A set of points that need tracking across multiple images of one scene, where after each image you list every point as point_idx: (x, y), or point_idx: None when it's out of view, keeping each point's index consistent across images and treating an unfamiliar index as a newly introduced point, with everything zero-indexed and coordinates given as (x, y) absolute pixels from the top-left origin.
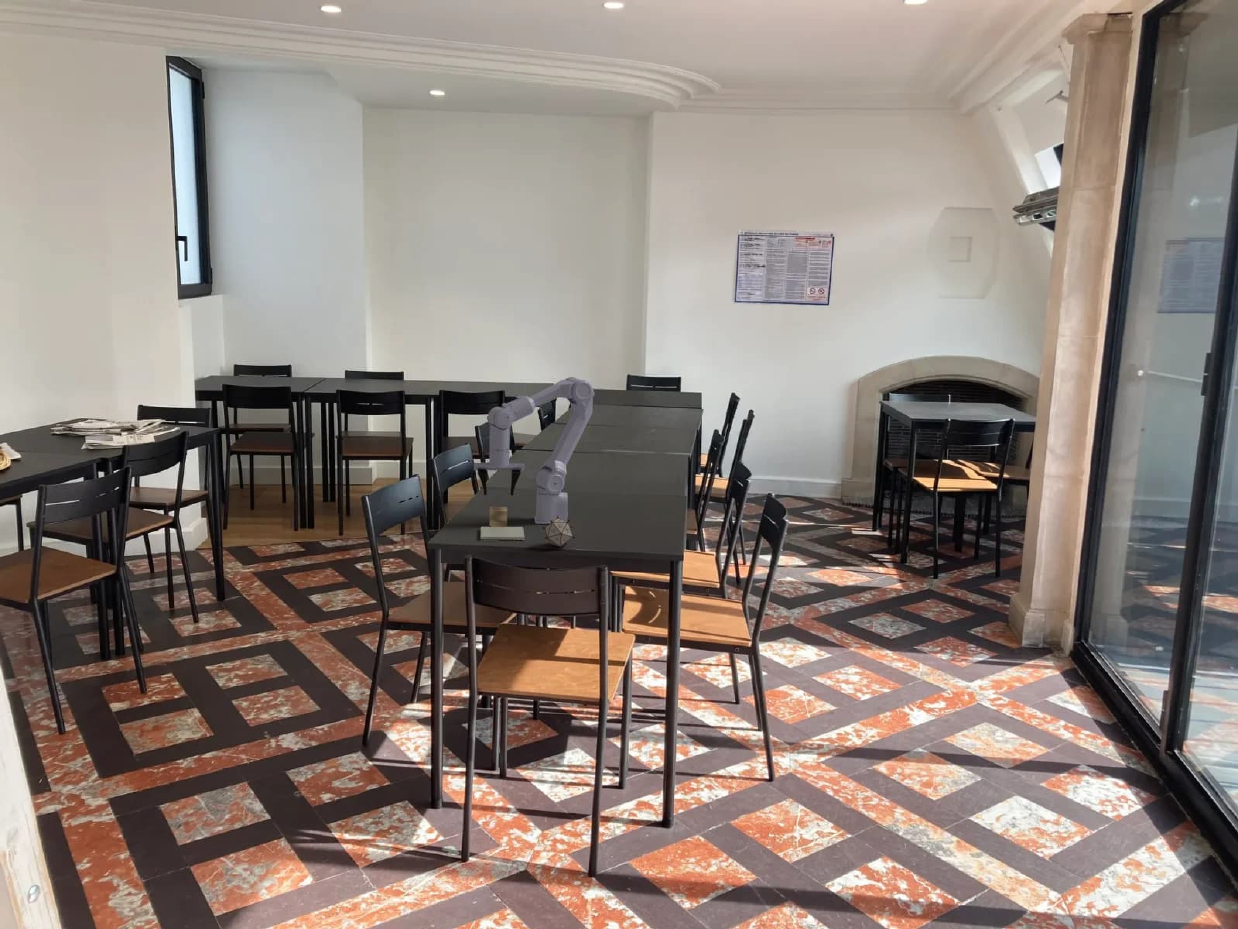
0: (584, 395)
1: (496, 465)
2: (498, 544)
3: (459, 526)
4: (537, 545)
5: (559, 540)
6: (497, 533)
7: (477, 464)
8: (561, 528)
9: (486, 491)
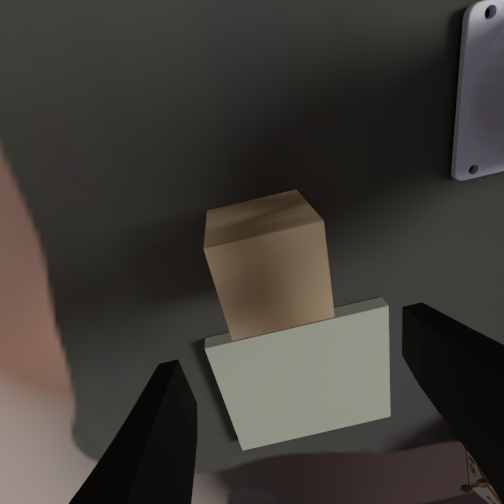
0: None
1: None
2: (304, 452)
3: (87, 308)
4: (422, 431)
5: None
6: (292, 407)
7: None
8: None
9: (196, 442)
